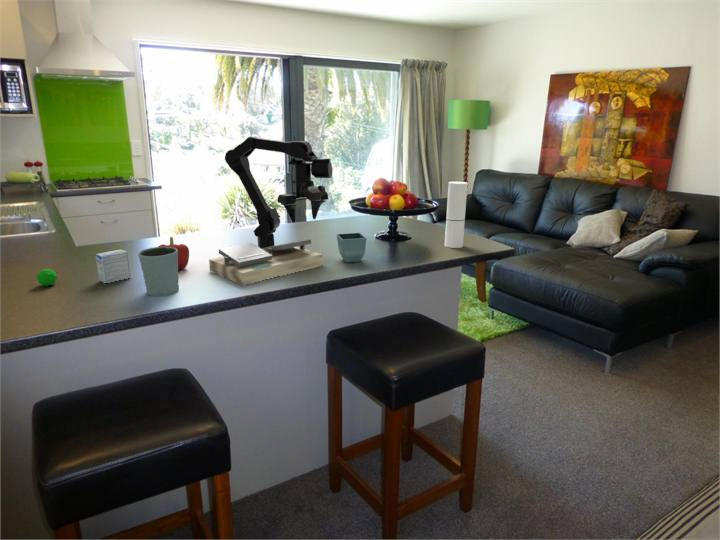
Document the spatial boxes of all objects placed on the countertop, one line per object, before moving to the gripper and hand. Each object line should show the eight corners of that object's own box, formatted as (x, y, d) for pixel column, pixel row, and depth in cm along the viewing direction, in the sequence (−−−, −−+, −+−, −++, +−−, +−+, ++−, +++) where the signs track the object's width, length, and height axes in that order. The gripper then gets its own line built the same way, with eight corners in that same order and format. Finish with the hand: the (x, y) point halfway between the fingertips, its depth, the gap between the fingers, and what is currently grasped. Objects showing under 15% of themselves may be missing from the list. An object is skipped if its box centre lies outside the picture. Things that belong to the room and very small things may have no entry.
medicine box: (124, 275, 153) (121, 248, 150) (131, 278, 150) (128, 251, 147) (98, 281, 147) (94, 254, 144) (105, 284, 144) (101, 256, 141)
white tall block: (461, 243, 197) (466, 181, 190) (463, 248, 190) (468, 183, 183) (443, 243, 198) (447, 181, 190) (445, 247, 191) (449, 183, 183)
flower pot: (342, 264, 166) (342, 239, 164) (336, 258, 175) (336, 233, 172) (366, 263, 169) (367, 238, 166) (359, 256, 177) (360, 232, 174)
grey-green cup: (186, 285, 144) (182, 246, 140) (174, 297, 134) (170, 255, 131) (151, 285, 143) (146, 246, 140) (137, 297, 134) (132, 255, 130)
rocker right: (262, 252, 166) (261, 247, 165) (291, 246, 174) (290, 242, 174) (282, 249, 157) (281, 244, 157) (311, 243, 165) (310, 239, 165)
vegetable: (157, 266, 163) (154, 236, 160) (190, 263, 166) (187, 234, 163) (156, 275, 153) (153, 244, 150) (191, 272, 157) (188, 242, 154)
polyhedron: (36, 285, 143) (33, 269, 142) (55, 281, 146) (53, 266, 145) (40, 289, 140) (37, 273, 138) (60, 285, 143) (57, 270, 141)
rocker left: (218, 253, 154) (218, 248, 154) (251, 246, 162) (251, 242, 162) (239, 266, 147) (239, 262, 146) (272, 259, 155) (272, 254, 154)
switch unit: (210, 271, 158) (208, 251, 156) (287, 254, 179) (286, 236, 177) (243, 285, 144) (241, 264, 142) (322, 265, 165) (322, 246, 163)
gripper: (294, 181, 161) (295, 227, 166) (337, 177, 173) (337, 220, 178) (275, 178, 169) (277, 222, 174) (318, 175, 181) (319, 216, 186)
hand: (304, 220), depth 178 cm, fingers open, 9 cm apart
